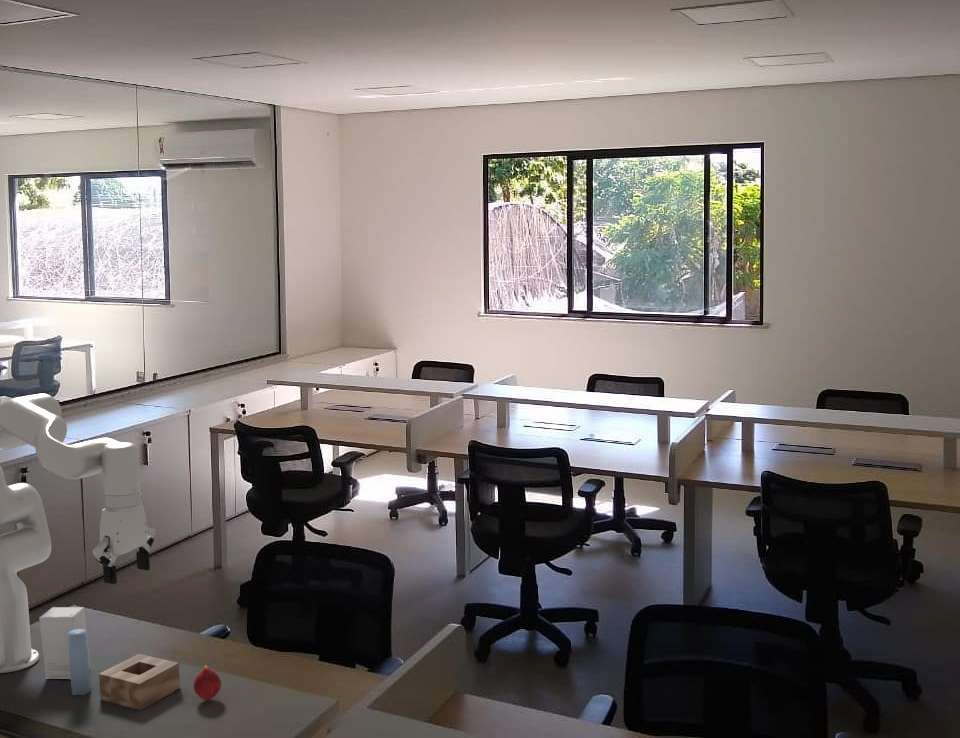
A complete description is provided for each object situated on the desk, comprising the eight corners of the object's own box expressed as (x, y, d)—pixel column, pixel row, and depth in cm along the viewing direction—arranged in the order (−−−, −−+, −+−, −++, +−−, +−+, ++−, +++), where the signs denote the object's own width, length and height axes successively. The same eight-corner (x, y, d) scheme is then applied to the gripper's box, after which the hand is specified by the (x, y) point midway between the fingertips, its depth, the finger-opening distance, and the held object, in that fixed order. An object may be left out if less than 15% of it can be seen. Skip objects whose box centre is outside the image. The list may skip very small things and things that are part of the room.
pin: (67, 693, 234) (63, 634, 232) (81, 686, 237) (78, 627, 235) (80, 697, 232) (76, 637, 230) (94, 689, 235) (90, 630, 233)
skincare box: (91, 669, 246) (87, 606, 244) (77, 681, 240) (73, 617, 238) (57, 668, 247) (52, 605, 245) (43, 680, 241) (38, 616, 238)
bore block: (100, 699, 230) (98, 673, 230) (140, 678, 241) (139, 653, 240) (140, 710, 225) (139, 683, 224) (180, 688, 236) (178, 662, 235)
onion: (227, 697, 231) (225, 663, 230) (210, 708, 226) (208, 673, 225) (206, 692, 233) (204, 658, 232) (189, 703, 228) (187, 668, 227)
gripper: (139, 488, 234) (143, 562, 237) (78, 507, 219) (83, 586, 221) (164, 492, 231) (168, 566, 233) (105, 511, 216) (109, 591, 218)
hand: (127, 576), depth 227 cm, fingers open, 9 cm apart
